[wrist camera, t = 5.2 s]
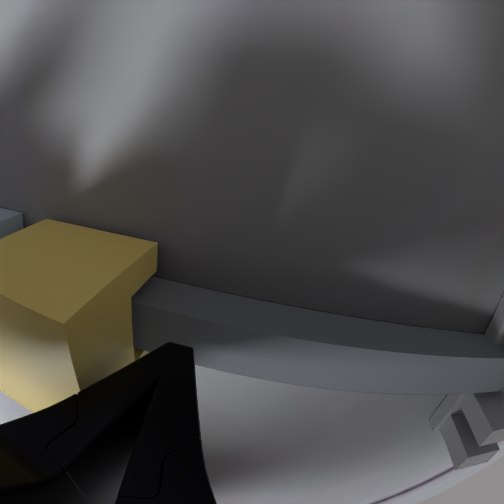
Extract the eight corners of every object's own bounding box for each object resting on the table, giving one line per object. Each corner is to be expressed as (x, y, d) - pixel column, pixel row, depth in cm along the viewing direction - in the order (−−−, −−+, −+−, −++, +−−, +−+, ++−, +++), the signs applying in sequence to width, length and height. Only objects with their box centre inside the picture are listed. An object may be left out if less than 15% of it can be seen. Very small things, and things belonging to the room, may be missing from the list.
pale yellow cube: (157, 242, 9) (63, 324, 5) (155, 353, 11) (101, 448, 6) (46, 218, 9) (-51, 264, 5) (58, 318, 11) (-10, 383, 6)
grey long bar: (531, 314, 9) (581, 366, 5) (489, 386, 10) (522, 444, 6) (-26, 202, 10) (-87, 226, 6) (-16, 277, 12) (-67, 311, 7)
